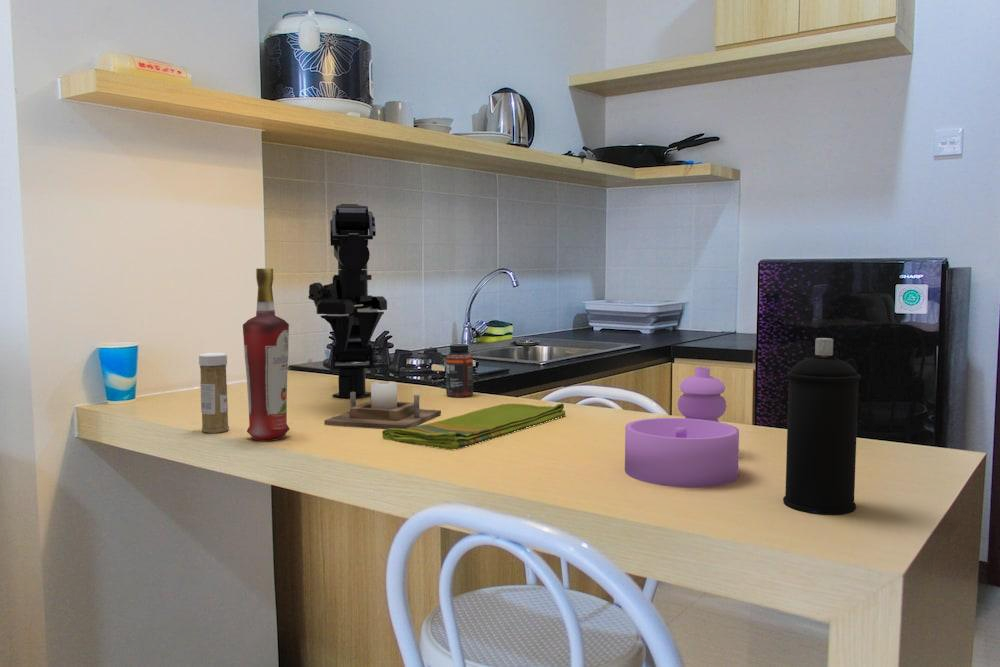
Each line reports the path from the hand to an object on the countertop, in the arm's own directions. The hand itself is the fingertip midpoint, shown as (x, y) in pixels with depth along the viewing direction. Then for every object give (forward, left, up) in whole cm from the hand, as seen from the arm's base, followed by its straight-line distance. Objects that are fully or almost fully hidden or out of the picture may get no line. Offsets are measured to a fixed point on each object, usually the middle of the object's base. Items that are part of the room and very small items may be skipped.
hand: (353, 348), depth 167 cm
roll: (+9, +11, -11) cm, 18 cm away
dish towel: (+10, +30, -13) cm, 34 cm away
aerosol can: (+43, +85, -12) cm, 96 cm away
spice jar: (+28, -12, -12) cm, 33 cm away
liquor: (+30, 0, -12) cm, 32 cm away
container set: (+27, +68, -12) cm, 74 cm away
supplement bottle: (-22, +14, -12) cm, 29 cm away
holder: (+9, +11, -12) cm, 19 cm away
